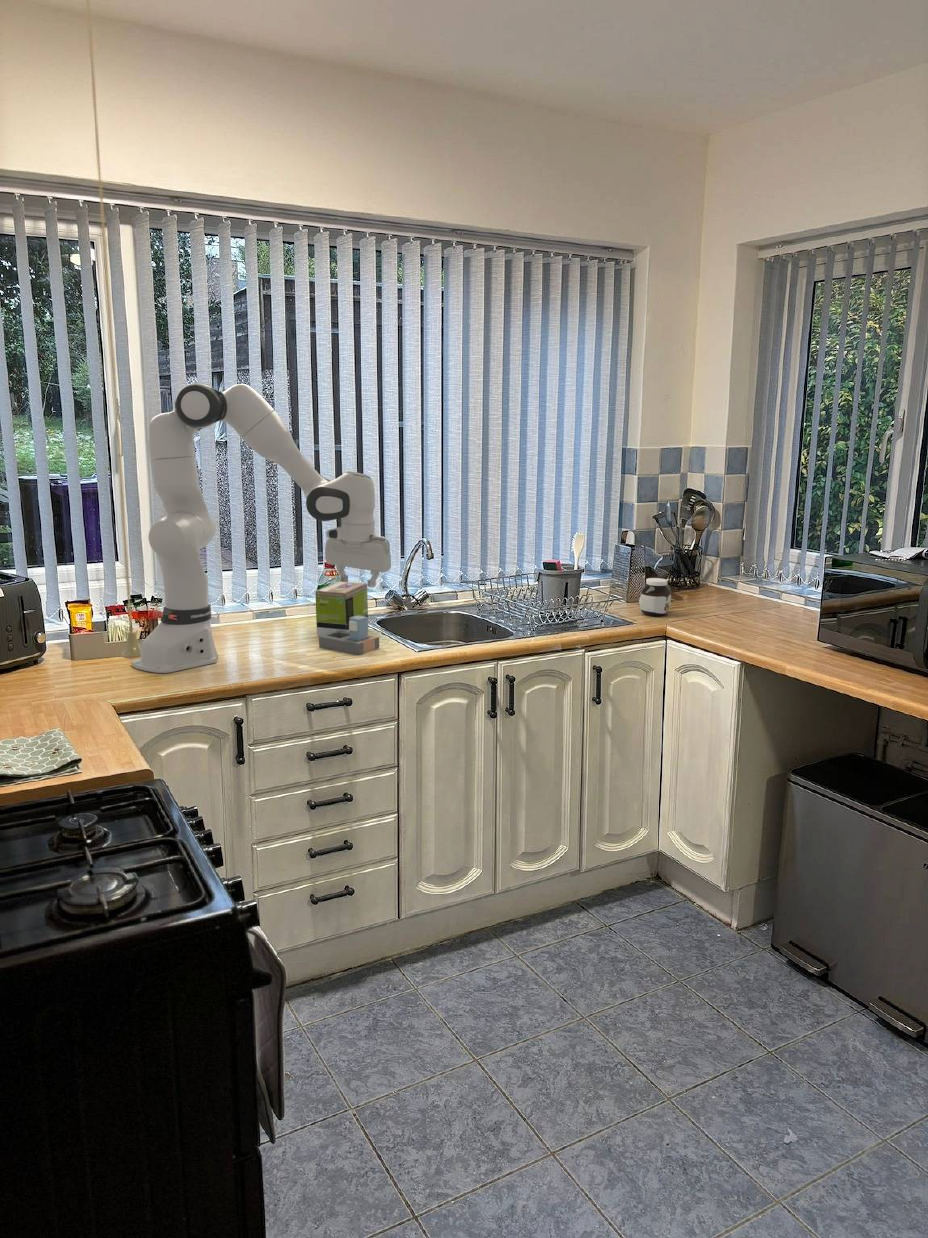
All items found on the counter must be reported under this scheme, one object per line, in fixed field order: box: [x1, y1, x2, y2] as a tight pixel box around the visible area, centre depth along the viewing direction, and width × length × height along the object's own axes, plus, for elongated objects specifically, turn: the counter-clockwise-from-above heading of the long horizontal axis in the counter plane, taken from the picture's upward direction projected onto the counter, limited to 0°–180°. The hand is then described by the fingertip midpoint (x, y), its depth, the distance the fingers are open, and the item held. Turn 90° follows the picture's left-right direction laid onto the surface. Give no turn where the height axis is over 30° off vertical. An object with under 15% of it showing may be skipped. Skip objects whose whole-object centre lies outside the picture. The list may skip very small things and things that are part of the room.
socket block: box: [318, 630, 380, 656], centre depth 258 cm, size 9×14×4 cm, turn 58°
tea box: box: [314, 580, 369, 637], centre depth 274 cm, size 15×10×15 cm
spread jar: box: [638, 577, 672, 618], centre depth 310 cm, size 12×11×12 cm
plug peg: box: [349, 615, 369, 642], centre depth 255 cm, size 4×4×9 cm
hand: (357, 584), depth 252 cm, fingers open, 8 cm apart
